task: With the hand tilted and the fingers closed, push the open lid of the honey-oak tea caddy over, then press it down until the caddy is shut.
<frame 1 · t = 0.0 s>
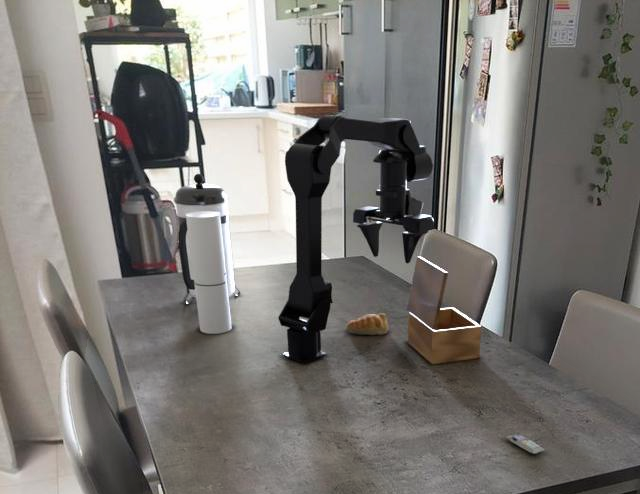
hand: (391, 259, 156), 15 cm above the table, tool pointing down, fingers open, 9 cm apart
pastry: (369, 332, 159), on the table
lid: (426, 292, 140), point 13 cm above the table, hinge at 80.0°
caddy: (442, 350, 148), on the table
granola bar: (524, 447, 111), on the table
coffee press: (211, 301, 179), on the table
cylindrical container: (216, 329, 160), on the table
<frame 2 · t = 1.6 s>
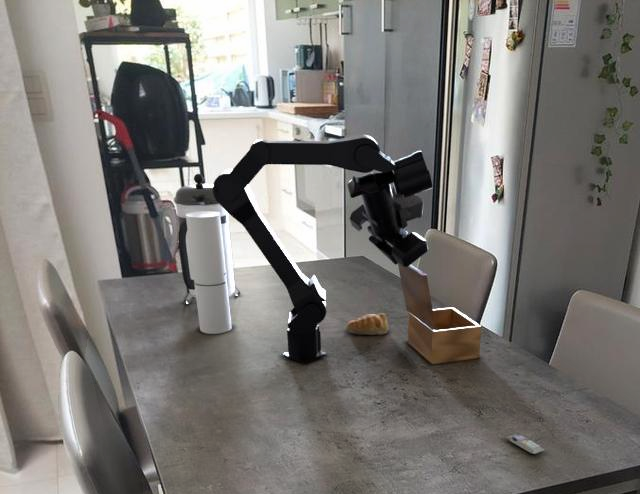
hand: (396, 262, 145), 17 cm above the table, tool tilted 35°, fingers closed
lid: (416, 293, 140), point 13 cm above the table, hinge at 103.0°, touching gripper
everything else where it was.
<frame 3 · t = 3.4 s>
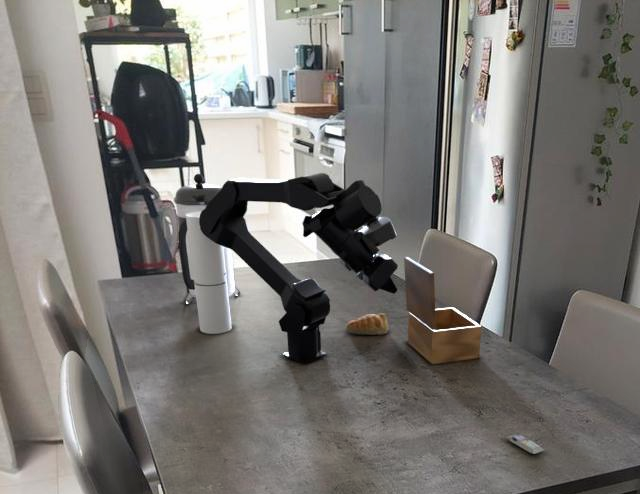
hand: (395, 291, 138), 14 cm above the table, tool tilted 45°, fingers closed
lid: (419, 292, 140), point 13 cm above the table, hinge at 95.2°
everything else where it was.
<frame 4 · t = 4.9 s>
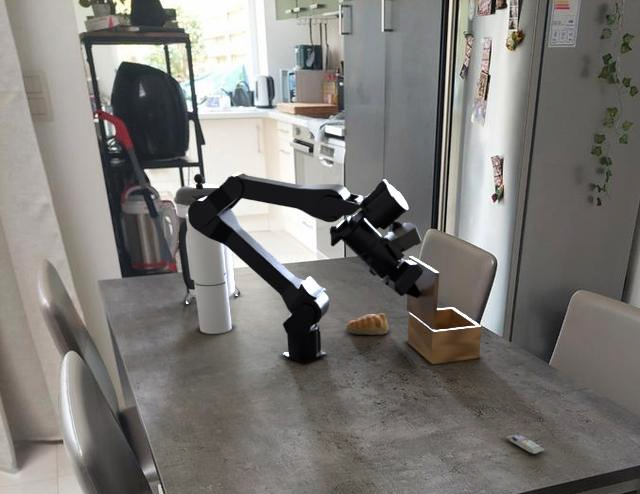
hand: (419, 295, 140), 12 cm above the table, tool tilted 45°, fingers closed, pressing on lid
lid: (422, 292, 140), point 13 cm above the table, hinge at 89.5°, touching gripper
everything else where it was.
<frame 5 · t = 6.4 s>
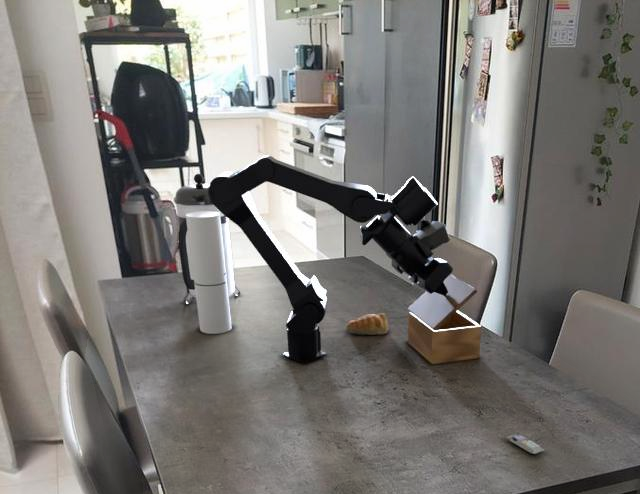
hand: (445, 293, 142), 12 cm above the table, tool tilted 45°, fingers closed
lid: (441, 300, 142), point 11 cm above the table, hinge at 38.7°
everything else where it was.
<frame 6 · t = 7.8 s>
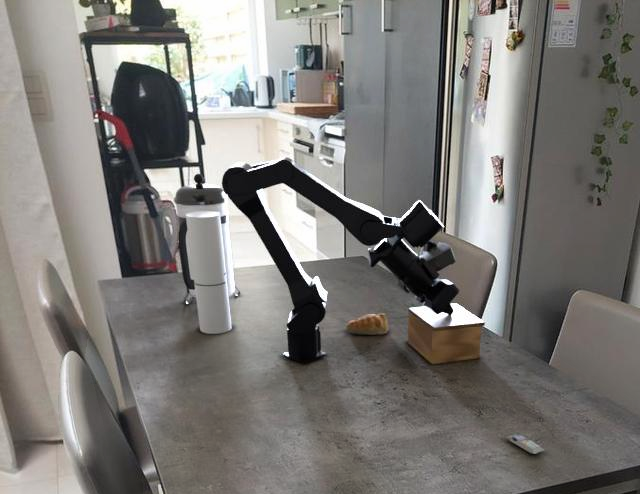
hand: (451, 312, 145), 8 cm above the table, tool tilted 45°, fingers closed, pressing on lid
lid: (445, 316, 145), point 7 cm above the table, hinge at -0.3°, touching caddy, gripper
everything else where it was.
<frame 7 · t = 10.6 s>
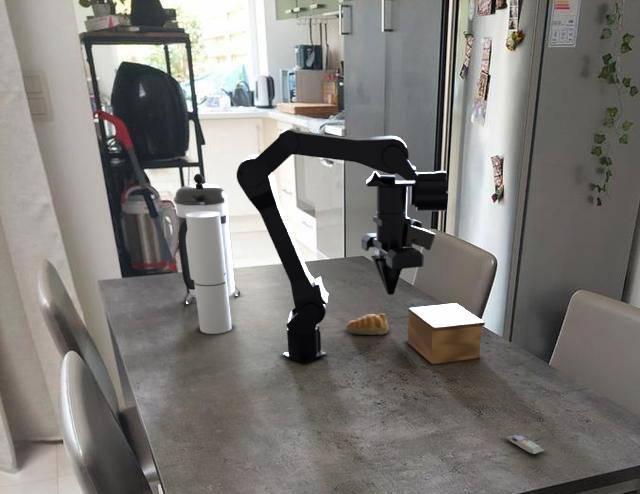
hand: (390, 294, 138), 13 cm above the table, tool pointing down, fingers closed
lid: (445, 316, 145), point 7 cm above the table, hinge at -0.3°, touching caddy
everything else where it was.
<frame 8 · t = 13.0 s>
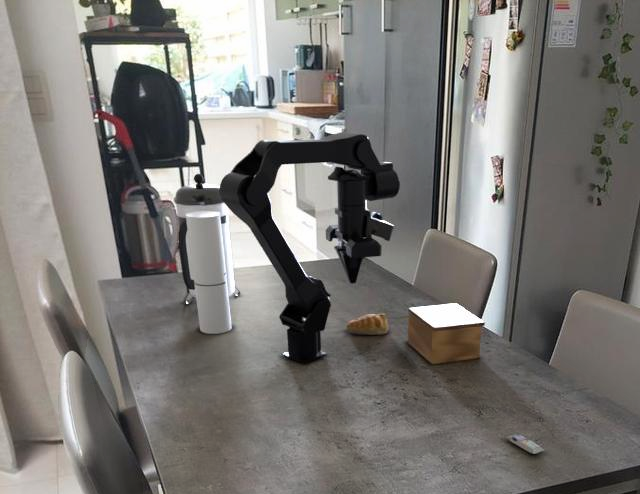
hand: (352, 282, 146), 13 cm above the table, tool pointing down, fingers closed
nothing on the table moved.
at the end: lid at +0° (first picture: +80°); pastry moved 0.2 cm from its start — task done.
